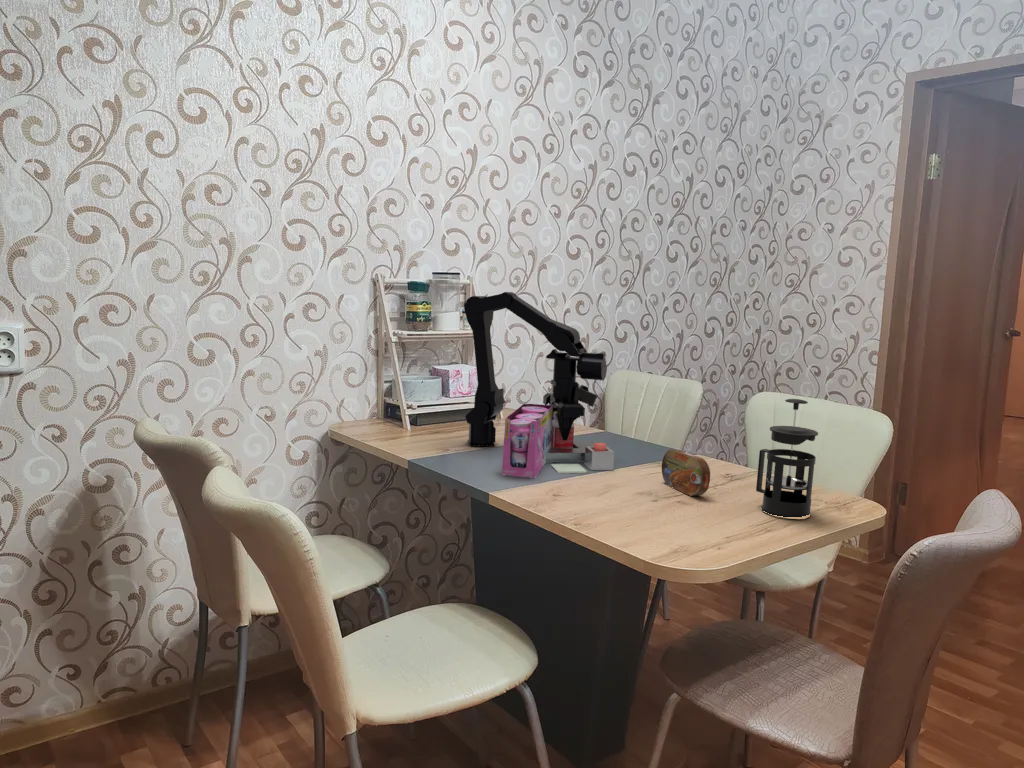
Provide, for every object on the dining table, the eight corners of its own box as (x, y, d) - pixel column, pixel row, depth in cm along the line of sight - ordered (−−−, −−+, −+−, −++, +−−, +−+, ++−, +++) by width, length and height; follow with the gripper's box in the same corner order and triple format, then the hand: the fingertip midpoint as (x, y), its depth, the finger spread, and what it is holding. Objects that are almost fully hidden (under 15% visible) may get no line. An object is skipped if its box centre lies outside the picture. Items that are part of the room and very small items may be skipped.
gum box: (534, 481, 160) (536, 422, 159) (499, 478, 162) (501, 419, 160) (551, 457, 184) (553, 405, 182) (521, 454, 185) (523, 402, 183)
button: (595, 457, 172) (596, 445, 171) (591, 454, 174) (592, 442, 174) (607, 457, 172) (608, 445, 172) (603, 454, 175) (604, 442, 175)
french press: (822, 515, 143) (834, 401, 140) (799, 524, 137) (811, 405, 134) (768, 500, 152) (778, 393, 148) (744, 508, 146) (754, 396, 142)
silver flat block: (542, 463, 175) (542, 453, 175) (530, 450, 188) (530, 441, 188) (604, 462, 179) (605, 452, 178) (588, 450, 191) (589, 440, 191)
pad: (558, 473, 167) (558, 471, 167) (550, 465, 173) (550, 464, 173) (587, 472, 168) (587, 471, 168) (578, 465, 175) (578, 463, 175)
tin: (659, 481, 163) (661, 445, 162) (671, 480, 164) (673, 444, 163) (698, 501, 149) (701, 461, 148) (711, 500, 151) (714, 461, 149)
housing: (591, 470, 170) (592, 451, 170) (584, 464, 176) (585, 446, 175) (613, 470, 172) (614, 451, 171) (605, 464, 177) (606, 446, 176)
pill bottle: (577, 455, 185) (579, 413, 183) (561, 458, 181) (563, 415, 179) (559, 450, 189) (561, 409, 188) (543, 453, 185) (545, 411, 184)
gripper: (606, 382, 175) (602, 445, 177) (584, 372, 193) (581, 429, 195) (562, 382, 173) (559, 445, 175) (543, 372, 191) (541, 429, 193)
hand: (561, 437), depth 184 cm, fingers closed on pill bottle, 6 cm apart
